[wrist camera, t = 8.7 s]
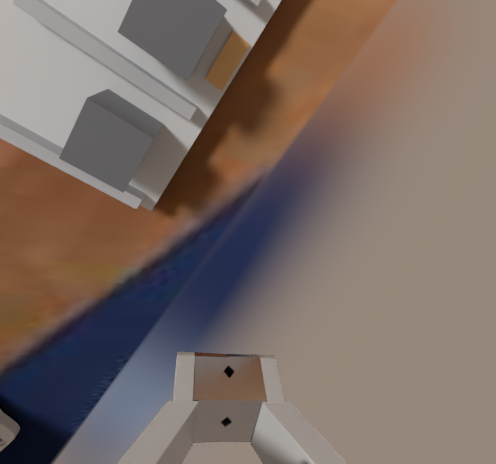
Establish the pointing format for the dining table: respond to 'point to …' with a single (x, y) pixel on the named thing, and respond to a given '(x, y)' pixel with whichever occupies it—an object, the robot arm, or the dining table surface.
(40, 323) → the dining table surface
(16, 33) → the switch board
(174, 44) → the grey cubic block
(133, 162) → the gray cube
